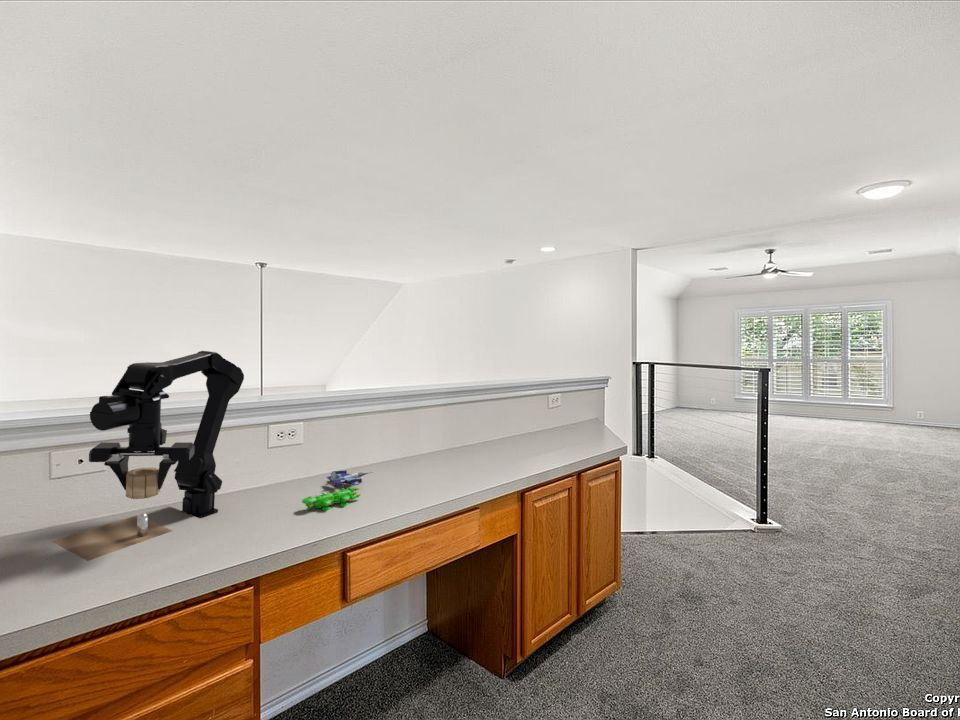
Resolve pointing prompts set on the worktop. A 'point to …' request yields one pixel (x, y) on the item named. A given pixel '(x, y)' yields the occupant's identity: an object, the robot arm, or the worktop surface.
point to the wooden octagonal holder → (142, 483)
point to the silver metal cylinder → (142, 525)
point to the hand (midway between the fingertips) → (143, 489)
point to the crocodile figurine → (331, 498)
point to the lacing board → (109, 538)
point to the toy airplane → (345, 477)
